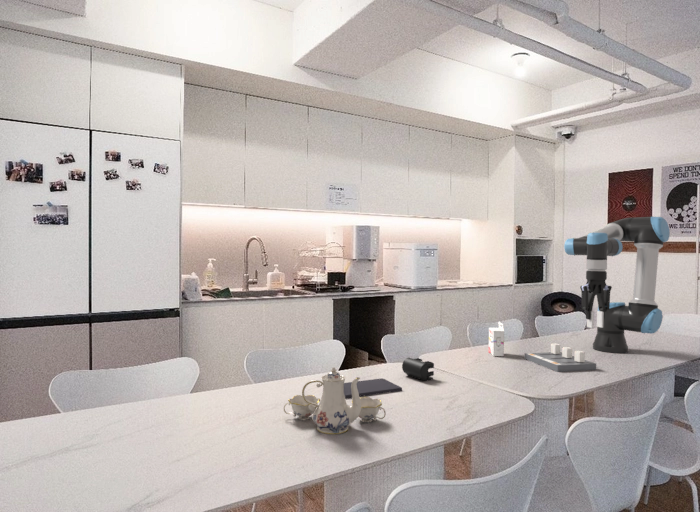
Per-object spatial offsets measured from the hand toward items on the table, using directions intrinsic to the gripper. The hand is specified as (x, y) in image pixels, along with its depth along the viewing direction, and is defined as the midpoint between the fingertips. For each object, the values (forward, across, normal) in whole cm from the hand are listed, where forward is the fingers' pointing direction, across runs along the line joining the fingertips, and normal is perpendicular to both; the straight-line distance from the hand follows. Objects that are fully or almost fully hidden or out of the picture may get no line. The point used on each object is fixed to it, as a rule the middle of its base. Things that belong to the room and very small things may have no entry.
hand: (594, 327), depth 196 cm
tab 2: (+14, +7, -7) cm, 17 cm away
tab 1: (+14, +7, -15) cm, 22 cm away
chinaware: (+17, +118, +40) cm, 126 cm away
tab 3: (+14, +7, 0) cm, 16 cm away
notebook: (+17, +101, +12) cm, 103 cm away
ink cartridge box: (+17, +28, -28) cm, 43 cm away
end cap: (+17, +78, +2) cm, 80 cm away
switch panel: (+17, +11, -8) cm, 21 cm away
